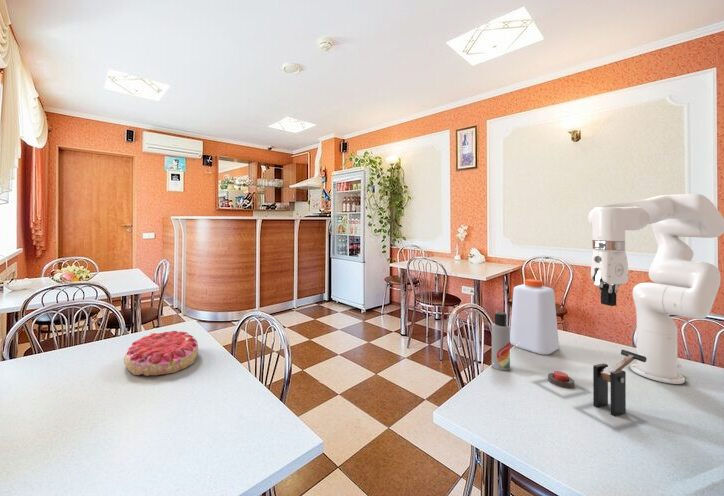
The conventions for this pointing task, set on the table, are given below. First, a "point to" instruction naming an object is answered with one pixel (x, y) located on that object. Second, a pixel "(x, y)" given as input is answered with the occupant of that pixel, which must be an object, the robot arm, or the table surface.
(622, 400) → the bracket
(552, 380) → the button block
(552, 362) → the table surface
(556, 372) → the button
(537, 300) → the plastic bottle
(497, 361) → the lotion bottle
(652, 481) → the table surface
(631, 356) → the lever
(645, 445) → the table surface
